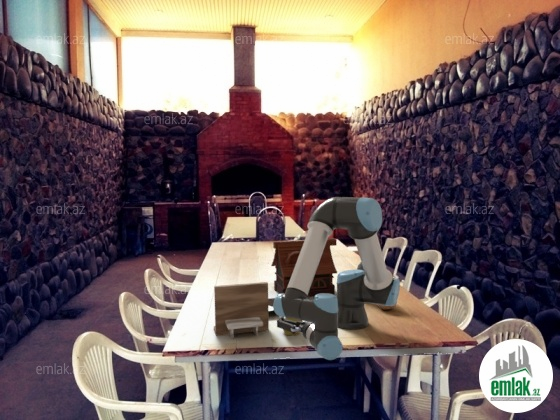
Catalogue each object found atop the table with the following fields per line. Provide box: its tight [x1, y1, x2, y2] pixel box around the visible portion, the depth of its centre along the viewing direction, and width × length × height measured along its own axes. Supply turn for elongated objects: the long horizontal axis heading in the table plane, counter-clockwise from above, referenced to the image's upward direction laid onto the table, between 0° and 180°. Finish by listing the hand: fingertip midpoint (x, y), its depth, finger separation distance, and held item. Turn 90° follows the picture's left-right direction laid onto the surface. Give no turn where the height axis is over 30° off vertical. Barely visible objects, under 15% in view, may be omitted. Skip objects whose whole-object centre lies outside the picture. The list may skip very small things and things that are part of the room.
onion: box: [377, 301, 398, 311], centre depth 213 cm, size 10×10×10 cm
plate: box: [268, 297, 275, 313], centre depth 216 cm, size 28×28×4 cm
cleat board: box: [213, 281, 270, 339], centre depth 184 cm, size 15×22×20 cm
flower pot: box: [282, 317, 304, 336], centre depth 183 cm, size 9×9×9 cm
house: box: [271, 237, 338, 298], centre depth 245 cm, size 35×28×29 cm
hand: (297, 315), depth 173 cm, fingers open, 13 cm apart
